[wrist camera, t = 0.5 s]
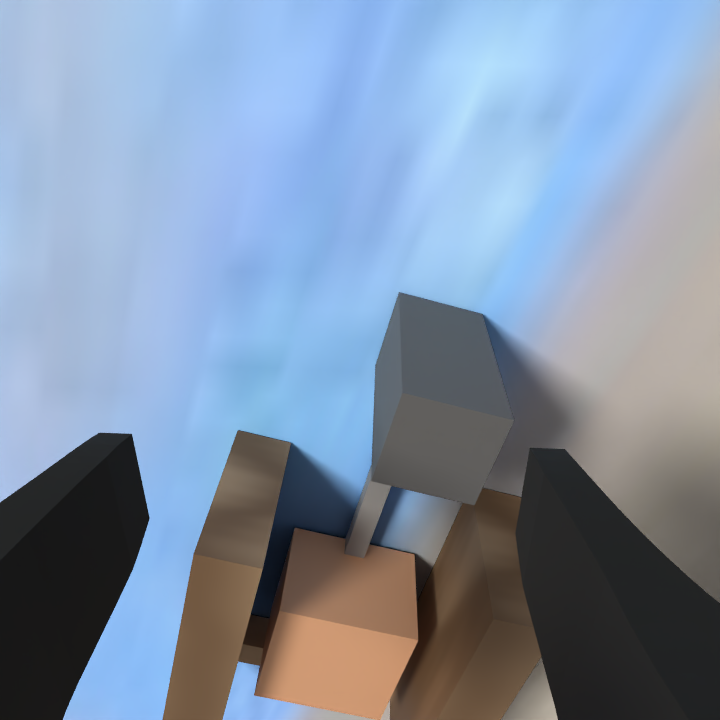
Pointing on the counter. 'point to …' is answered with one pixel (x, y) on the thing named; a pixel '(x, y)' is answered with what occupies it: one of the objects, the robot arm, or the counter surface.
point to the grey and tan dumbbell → (389, 468)
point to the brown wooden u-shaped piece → (434, 607)
